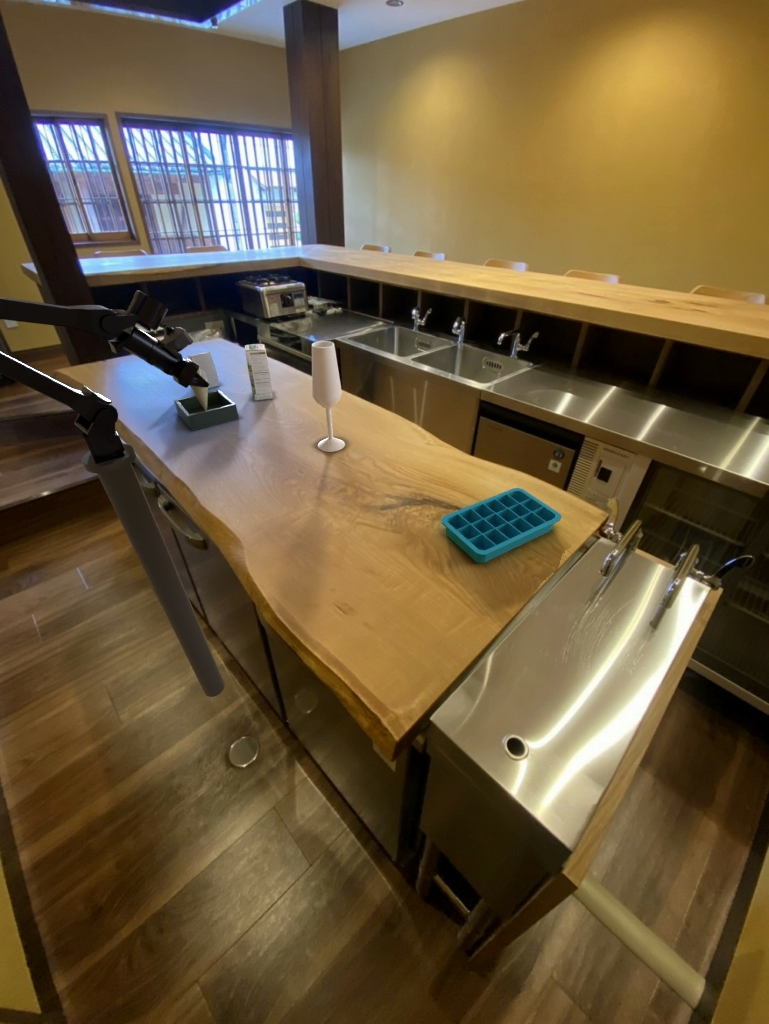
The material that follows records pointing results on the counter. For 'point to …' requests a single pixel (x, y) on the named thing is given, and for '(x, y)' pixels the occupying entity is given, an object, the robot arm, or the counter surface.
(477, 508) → the ice cube tray
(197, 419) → the bin
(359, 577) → the counter surface
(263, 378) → the syrup box
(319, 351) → the champagne flute
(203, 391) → the ice cream cone
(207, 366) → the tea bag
